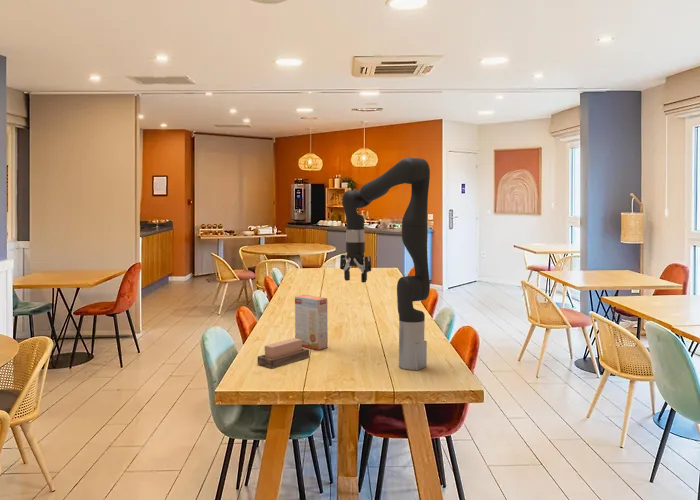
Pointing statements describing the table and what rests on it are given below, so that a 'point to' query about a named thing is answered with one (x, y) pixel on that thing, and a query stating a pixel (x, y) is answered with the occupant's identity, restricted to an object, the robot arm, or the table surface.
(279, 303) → the table surface
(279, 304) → the table surface
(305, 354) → the tray
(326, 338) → the cracker box
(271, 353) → the clay strip
